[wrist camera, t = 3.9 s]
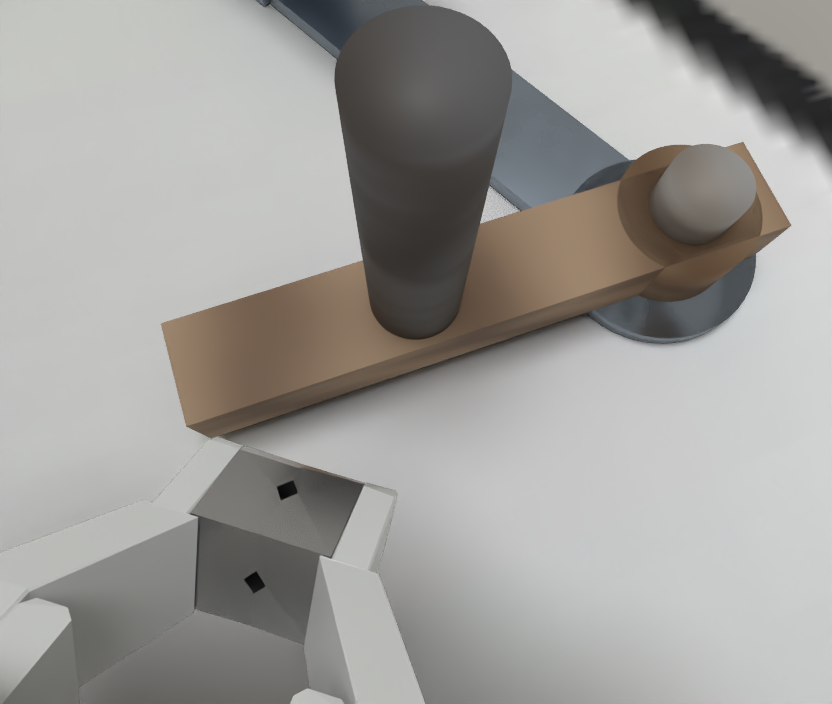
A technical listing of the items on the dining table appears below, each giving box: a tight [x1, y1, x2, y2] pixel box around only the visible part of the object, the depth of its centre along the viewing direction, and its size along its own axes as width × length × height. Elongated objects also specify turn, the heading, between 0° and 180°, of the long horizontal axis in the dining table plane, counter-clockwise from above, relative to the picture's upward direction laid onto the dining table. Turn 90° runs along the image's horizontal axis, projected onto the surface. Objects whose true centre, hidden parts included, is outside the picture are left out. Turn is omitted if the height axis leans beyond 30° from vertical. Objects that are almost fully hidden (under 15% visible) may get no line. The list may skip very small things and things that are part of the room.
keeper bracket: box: [257, 0, 756, 343], centre depth 23 cm, size 28×8×6 cm, turn 46°
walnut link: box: [161, 5, 791, 438], centre depth 17 cm, size 21×5×12 cm, turn 109°
